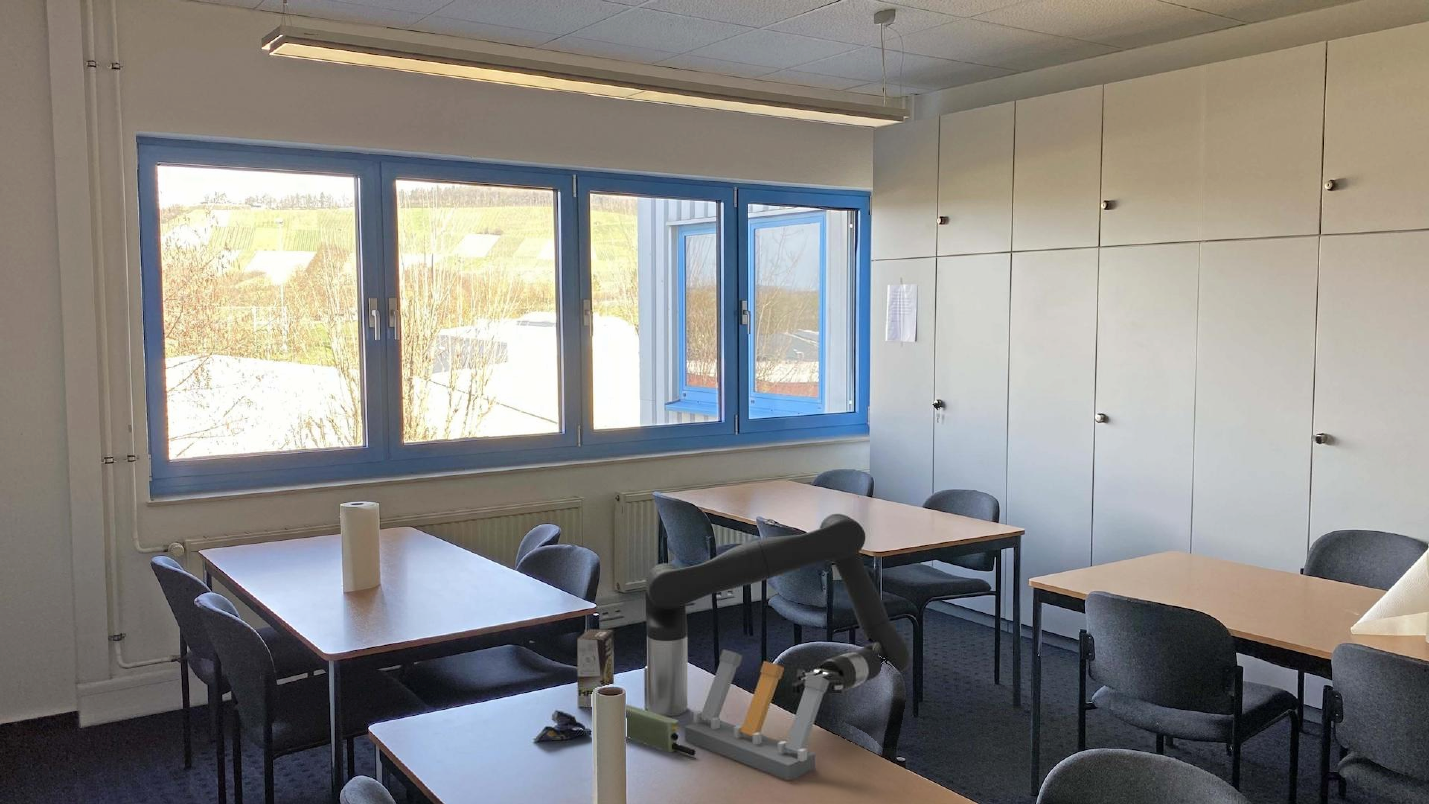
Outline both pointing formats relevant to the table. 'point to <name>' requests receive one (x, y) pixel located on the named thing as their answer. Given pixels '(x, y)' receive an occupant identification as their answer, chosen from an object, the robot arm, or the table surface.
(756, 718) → the orange paddle
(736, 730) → the pegged base beam
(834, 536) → the robot arm
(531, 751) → the table surface
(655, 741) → the handheld radio
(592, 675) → the coffee box
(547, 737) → the snack package
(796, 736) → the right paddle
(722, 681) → the left paddle
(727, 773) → the table surface
